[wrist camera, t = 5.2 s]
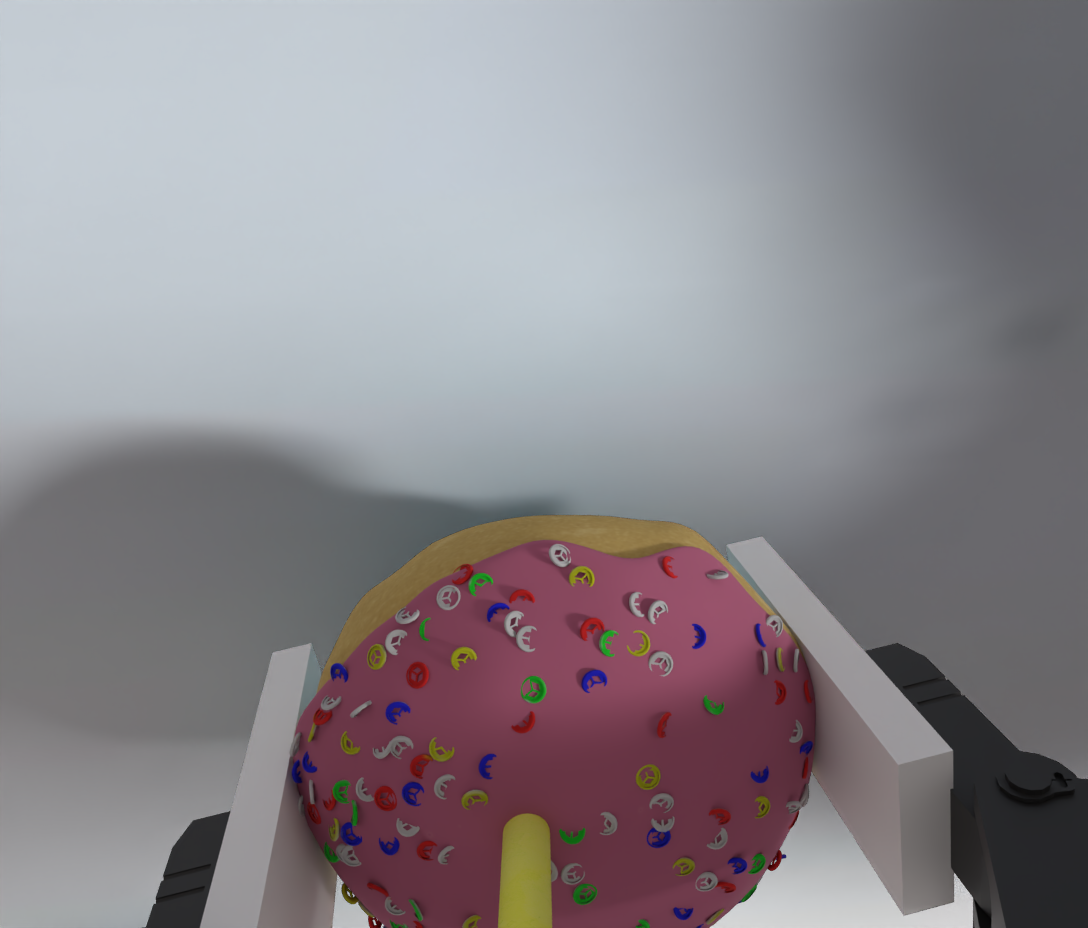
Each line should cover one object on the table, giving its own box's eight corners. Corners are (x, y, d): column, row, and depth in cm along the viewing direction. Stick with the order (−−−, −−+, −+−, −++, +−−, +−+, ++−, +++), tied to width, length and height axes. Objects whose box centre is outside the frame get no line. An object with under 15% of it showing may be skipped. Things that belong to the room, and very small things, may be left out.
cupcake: (257, 695, 18) (21, 1553, 7) (450, 350, 16) (537, 798, 5) (594, 822, 21) (804, 1601, 10) (796, 536, 19) (1351, 1104, 8)
